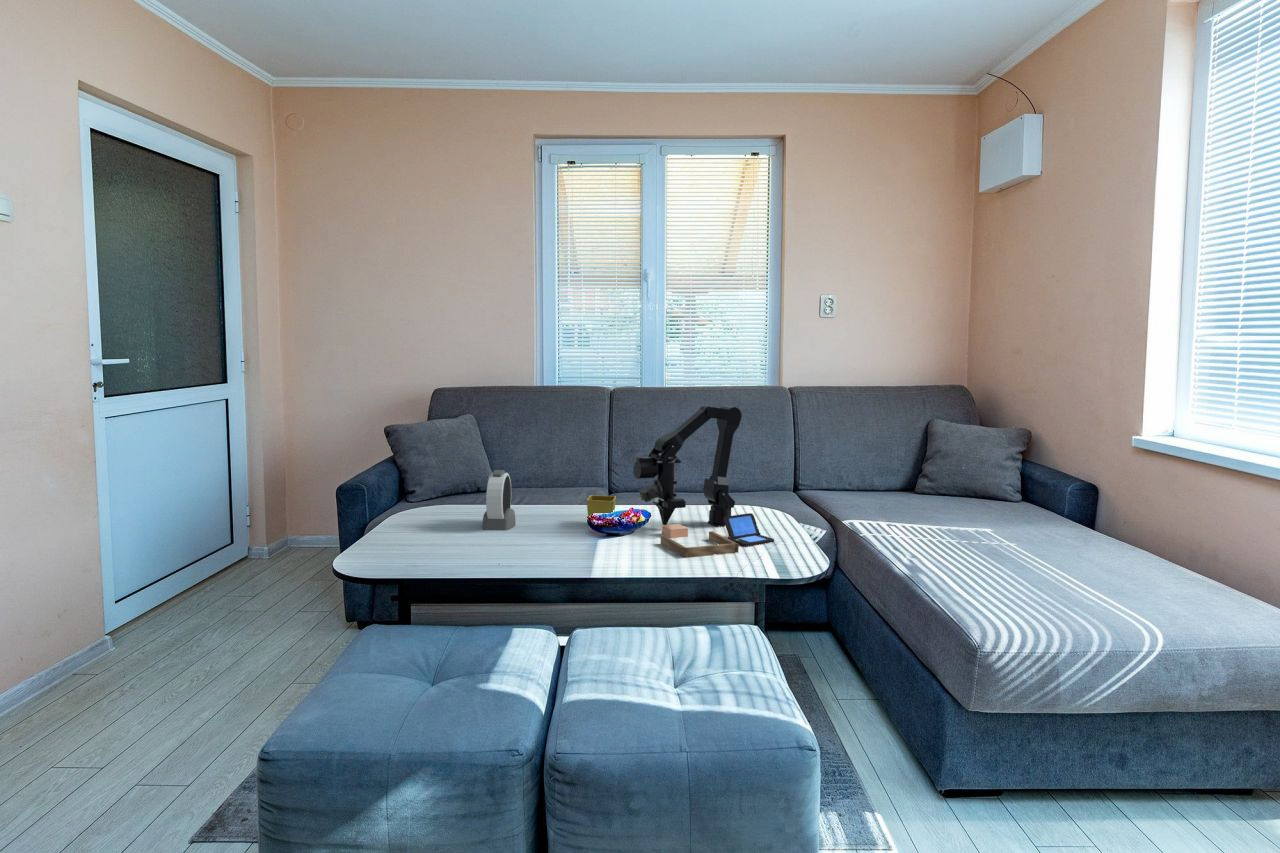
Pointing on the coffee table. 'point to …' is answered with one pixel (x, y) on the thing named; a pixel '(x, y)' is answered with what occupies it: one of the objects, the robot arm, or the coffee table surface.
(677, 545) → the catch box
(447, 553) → the coffee table surface
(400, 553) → the coffee table surface
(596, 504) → the flower pot
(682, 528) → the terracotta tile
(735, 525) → the handheld game console
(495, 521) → the grey ring on stand
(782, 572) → the coffee table surface
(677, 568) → the coffee table surface
